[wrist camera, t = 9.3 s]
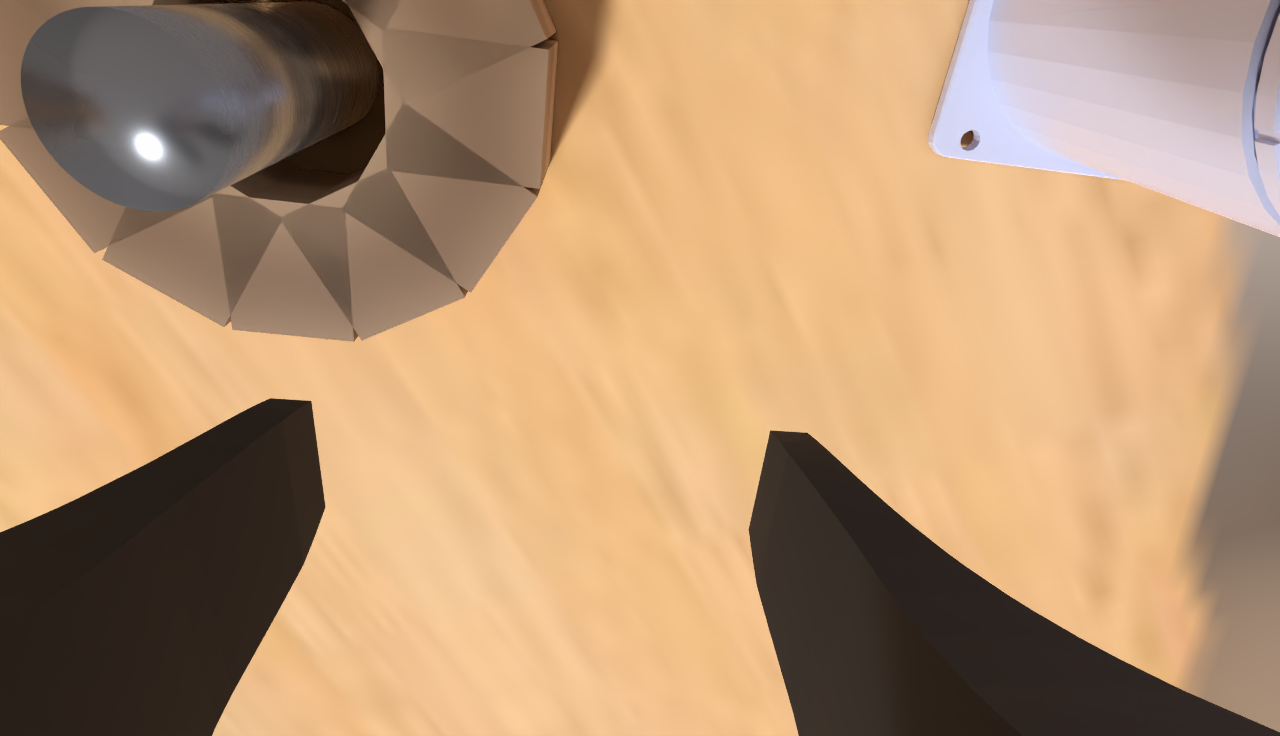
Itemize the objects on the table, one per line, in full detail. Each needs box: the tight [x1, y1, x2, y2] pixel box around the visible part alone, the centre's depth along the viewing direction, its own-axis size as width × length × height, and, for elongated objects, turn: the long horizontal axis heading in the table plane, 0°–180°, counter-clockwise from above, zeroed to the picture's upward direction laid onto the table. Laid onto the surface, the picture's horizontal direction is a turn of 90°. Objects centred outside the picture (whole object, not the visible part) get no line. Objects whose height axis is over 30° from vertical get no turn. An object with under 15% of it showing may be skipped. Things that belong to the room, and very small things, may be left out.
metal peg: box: [21, 2, 379, 212], centre depth 14 cm, size 3×3×8 cm
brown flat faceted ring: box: [0, 0, 558, 342], centre depth 17 cm, size 12×12×3 cm
